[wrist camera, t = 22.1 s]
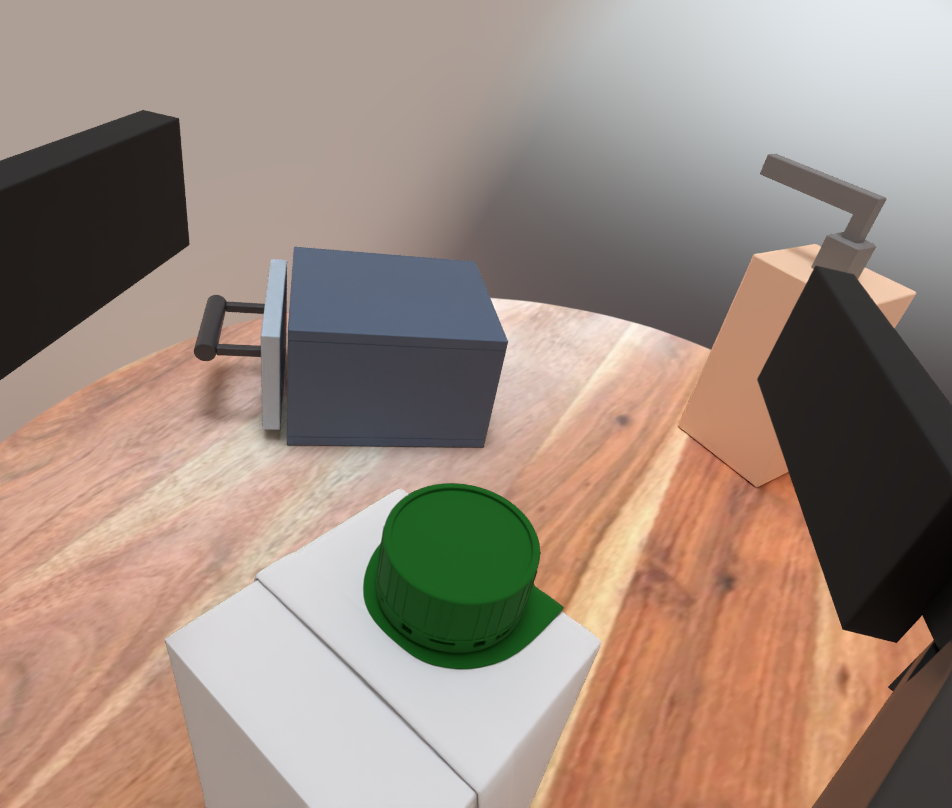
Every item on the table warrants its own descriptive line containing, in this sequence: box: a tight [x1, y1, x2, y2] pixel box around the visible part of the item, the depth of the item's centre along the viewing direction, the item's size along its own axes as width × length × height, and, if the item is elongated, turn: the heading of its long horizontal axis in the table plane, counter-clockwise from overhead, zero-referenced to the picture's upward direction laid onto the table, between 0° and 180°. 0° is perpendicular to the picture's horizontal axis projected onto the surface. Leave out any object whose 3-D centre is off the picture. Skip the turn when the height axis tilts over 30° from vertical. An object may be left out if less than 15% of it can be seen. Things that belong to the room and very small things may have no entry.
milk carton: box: [165, 483, 601, 808], centre depth 21 cm, size 9×9×20 cm
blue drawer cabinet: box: [287, 247, 508, 447], centre depth 52 cm, size 15×13×10 cm
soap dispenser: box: [678, 154, 916, 487], centre depth 53 cm, size 13×9×22 cm
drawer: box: [194, 259, 287, 430], centre depth 51 cm, size 18×11×8 cm, turn 101°
